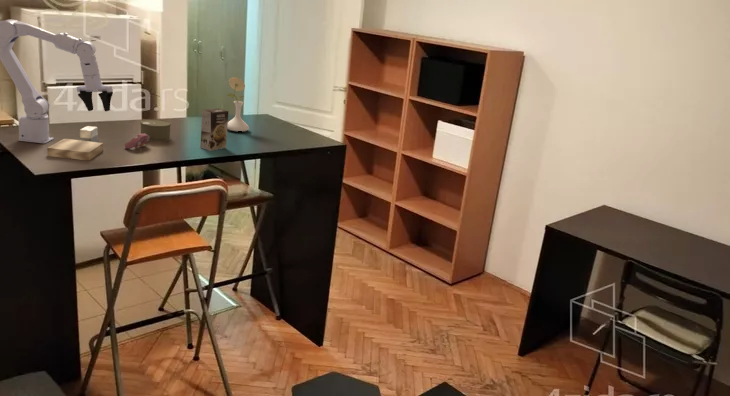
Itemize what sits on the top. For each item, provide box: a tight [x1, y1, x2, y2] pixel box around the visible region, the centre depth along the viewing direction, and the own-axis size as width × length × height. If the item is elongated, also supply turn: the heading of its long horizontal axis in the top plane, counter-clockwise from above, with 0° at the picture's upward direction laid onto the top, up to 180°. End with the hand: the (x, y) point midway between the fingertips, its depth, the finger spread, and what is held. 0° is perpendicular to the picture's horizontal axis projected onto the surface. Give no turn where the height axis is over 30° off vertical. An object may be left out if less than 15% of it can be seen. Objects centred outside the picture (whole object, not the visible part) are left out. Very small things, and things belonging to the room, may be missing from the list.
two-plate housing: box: [79, 125, 99, 143], centre depth 225 cm, size 4×7×6 cm, turn 4°
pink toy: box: [124, 132, 150, 150], centre depth 229 cm, size 10×5×7 cm, turn 169°
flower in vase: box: [226, 76, 250, 132], centre depth 275 cm, size 13×11×25 cm
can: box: [140, 118, 172, 143], centre depth 245 cm, size 12×12×7 cm
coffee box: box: [199, 108, 229, 152], centre depth 241 cm, size 9×6×16 cm
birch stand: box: [46, 138, 104, 162], centre depth 211 cm, size 14×14×3 cm
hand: (99, 110), depth 222 cm, fingers open, 7 cm apart
